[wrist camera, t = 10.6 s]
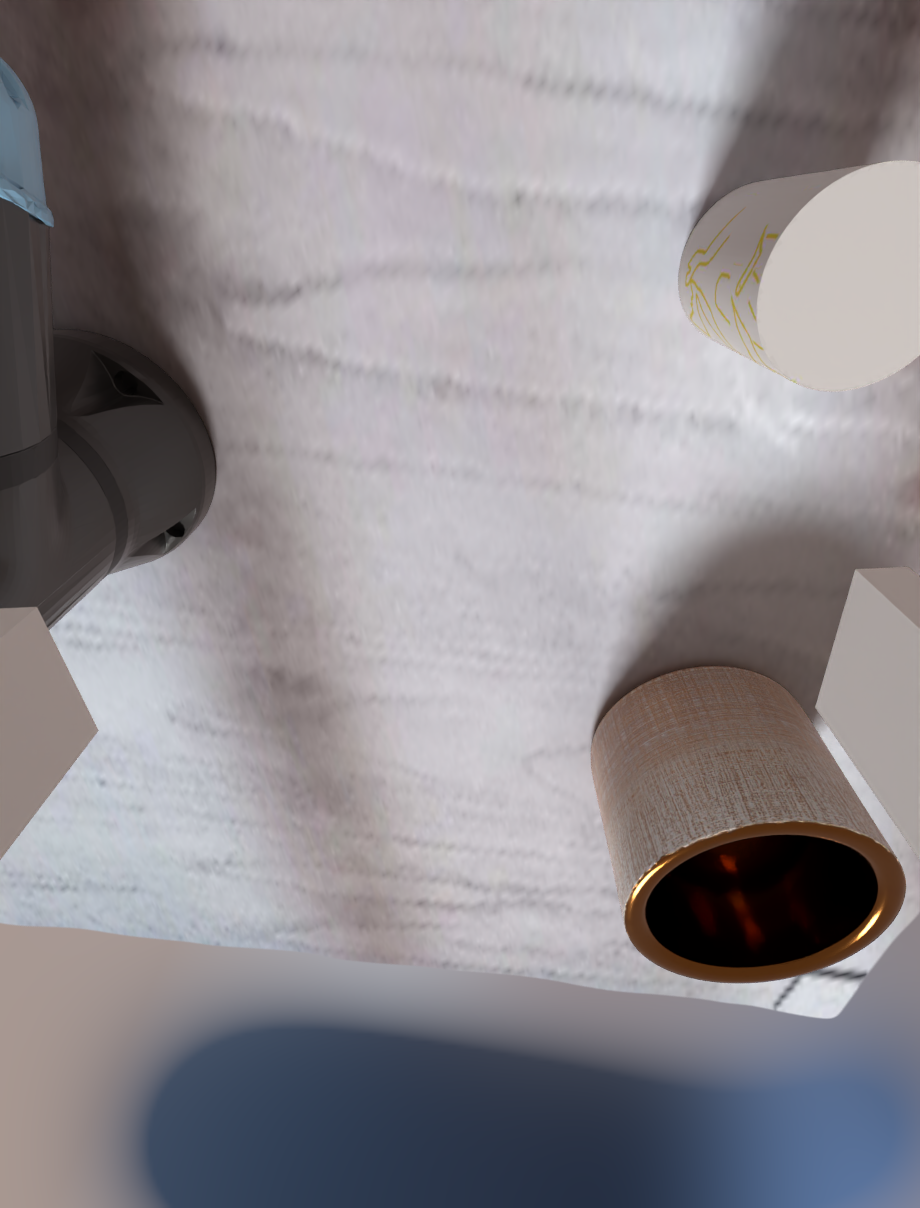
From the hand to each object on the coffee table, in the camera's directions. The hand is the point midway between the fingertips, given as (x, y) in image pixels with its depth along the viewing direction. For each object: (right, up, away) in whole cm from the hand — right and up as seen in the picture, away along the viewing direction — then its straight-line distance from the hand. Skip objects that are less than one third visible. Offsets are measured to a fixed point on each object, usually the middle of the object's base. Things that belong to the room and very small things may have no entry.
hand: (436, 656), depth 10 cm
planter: (+20, -11, +43) cm, 49 cm away
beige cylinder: (+17, +20, +25) cm, 36 cm away
